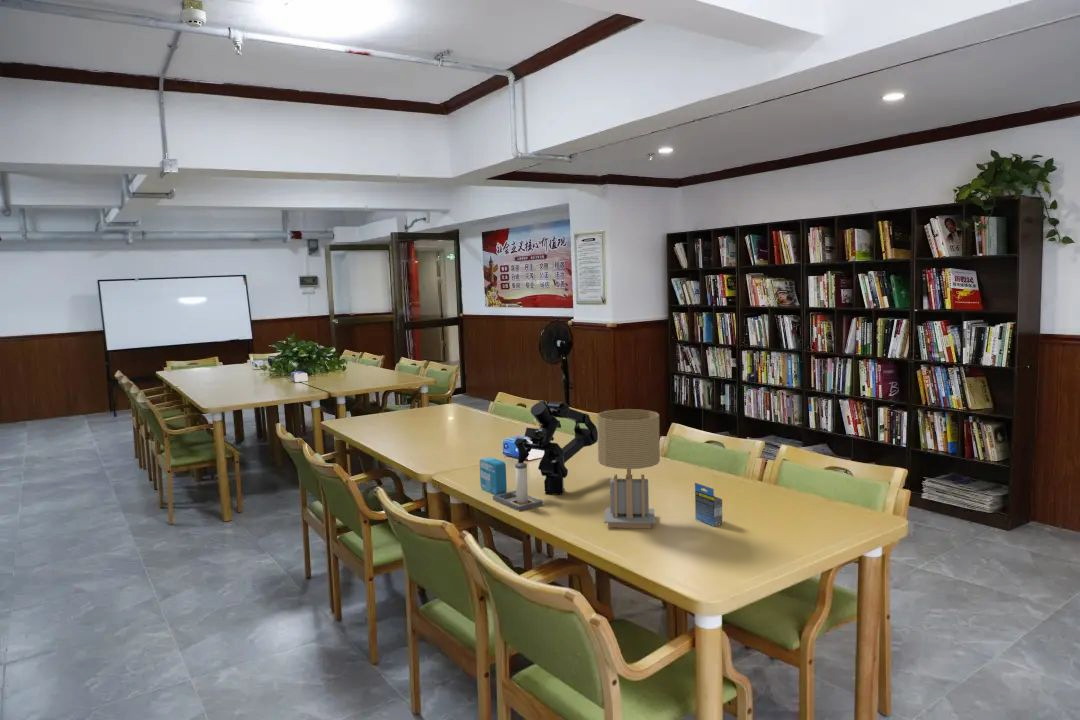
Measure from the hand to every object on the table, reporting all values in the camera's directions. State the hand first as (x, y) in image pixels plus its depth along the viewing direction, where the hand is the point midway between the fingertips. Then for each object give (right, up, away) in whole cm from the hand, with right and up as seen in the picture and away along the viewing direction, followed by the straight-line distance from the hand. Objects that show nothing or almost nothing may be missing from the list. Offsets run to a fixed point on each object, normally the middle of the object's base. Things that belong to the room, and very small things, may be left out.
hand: (528, 467), depth 252 cm
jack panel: (-4, -13, +2) cm, 14 cm away
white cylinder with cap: (-2, -13, -2) cm, 14 cm away
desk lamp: (+33, -15, -22) cm, 42 cm away
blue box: (-14, -12, +17) cm, 25 cm away
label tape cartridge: (+58, -14, -24) cm, 64 cm away
